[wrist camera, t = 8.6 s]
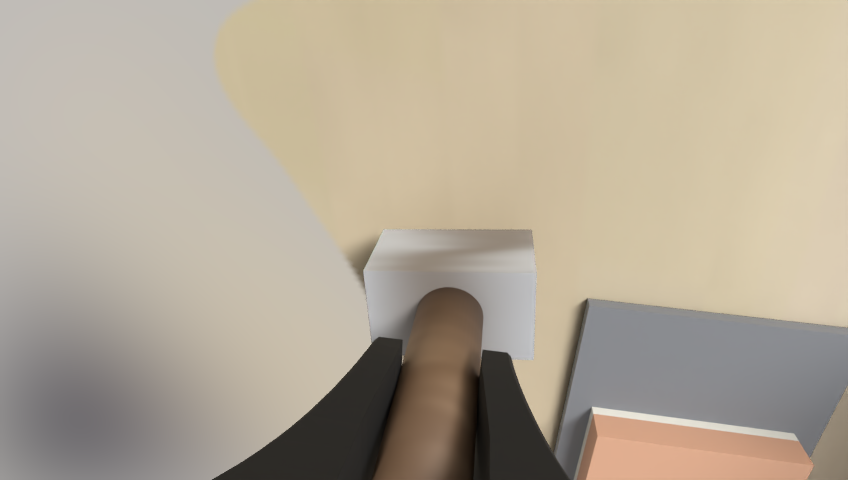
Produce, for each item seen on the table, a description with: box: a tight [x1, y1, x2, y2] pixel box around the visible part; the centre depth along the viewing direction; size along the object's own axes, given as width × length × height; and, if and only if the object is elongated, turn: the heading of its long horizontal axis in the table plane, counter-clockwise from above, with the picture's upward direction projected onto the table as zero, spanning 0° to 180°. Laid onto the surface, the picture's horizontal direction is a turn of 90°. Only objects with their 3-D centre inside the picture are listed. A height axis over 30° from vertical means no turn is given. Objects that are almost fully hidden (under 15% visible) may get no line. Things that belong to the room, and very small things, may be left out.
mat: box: [554, 299, 848, 480], centre depth 24 cm, size 10×15×1 cm, turn 177°
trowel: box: [363, 229, 537, 480], centre depth 14 cm, size 5×3×10 cm, turn 93°
